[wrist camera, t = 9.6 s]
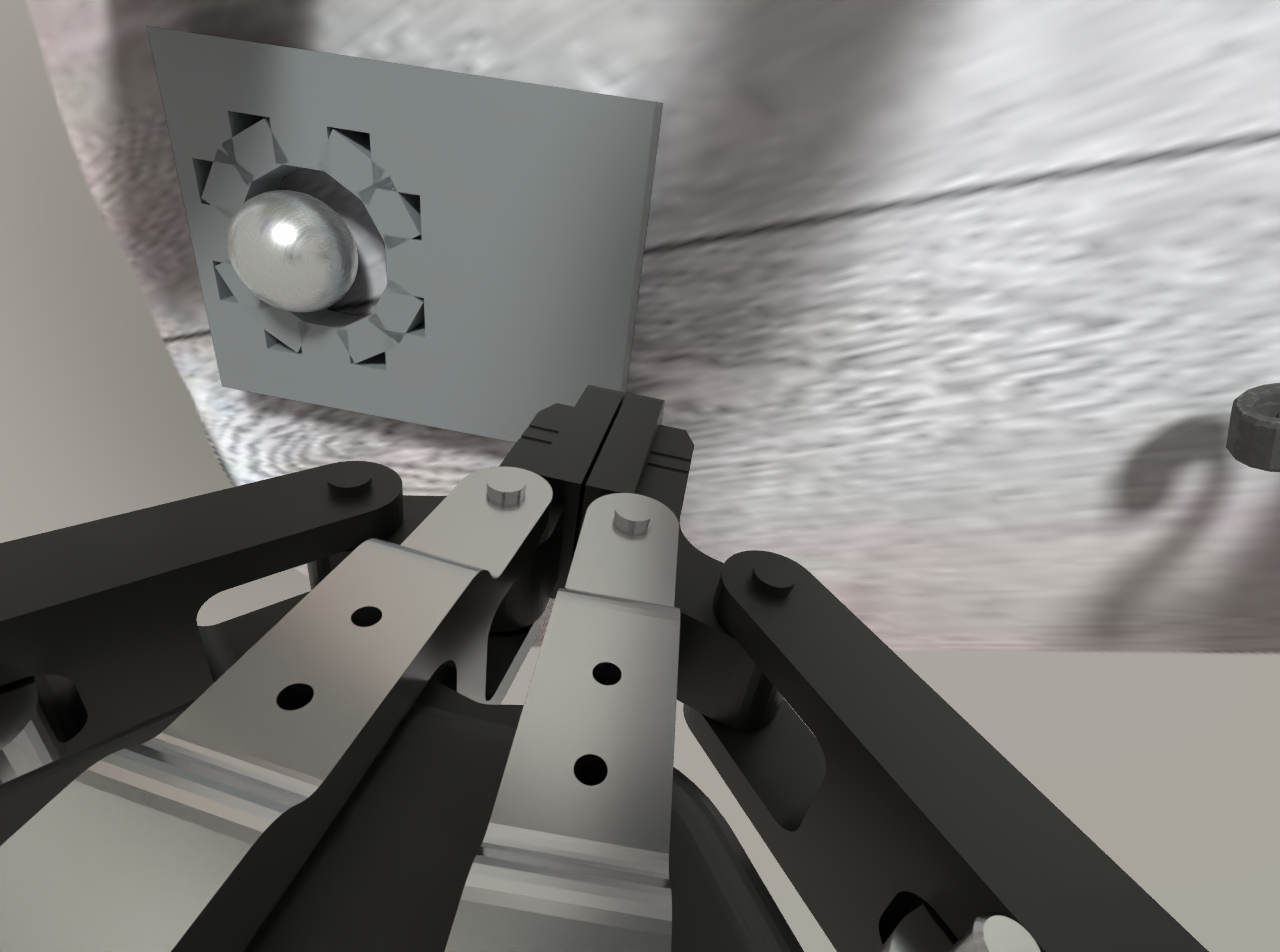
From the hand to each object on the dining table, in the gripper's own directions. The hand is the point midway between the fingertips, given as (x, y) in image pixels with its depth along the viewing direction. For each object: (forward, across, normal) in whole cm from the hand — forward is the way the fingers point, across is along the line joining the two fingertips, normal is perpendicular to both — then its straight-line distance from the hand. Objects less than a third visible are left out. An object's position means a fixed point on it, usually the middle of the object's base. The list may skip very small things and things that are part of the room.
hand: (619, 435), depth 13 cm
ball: (+20, +21, +4) cm, 29 cm away
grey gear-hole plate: (+23, +15, +4) cm, 28 cm away
